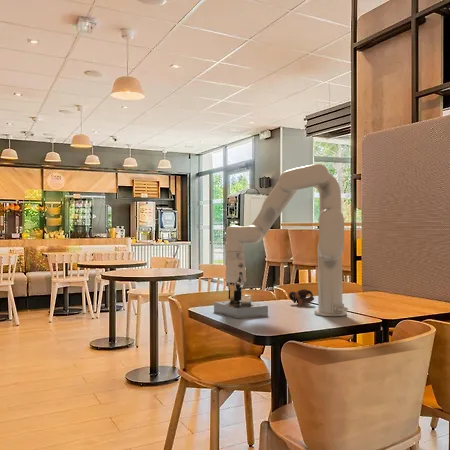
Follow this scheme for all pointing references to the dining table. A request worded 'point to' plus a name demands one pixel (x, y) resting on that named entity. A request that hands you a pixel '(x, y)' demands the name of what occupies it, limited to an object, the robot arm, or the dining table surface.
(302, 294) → the brown animal figurine
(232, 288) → the bushing
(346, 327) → the dining table surface
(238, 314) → the jig
